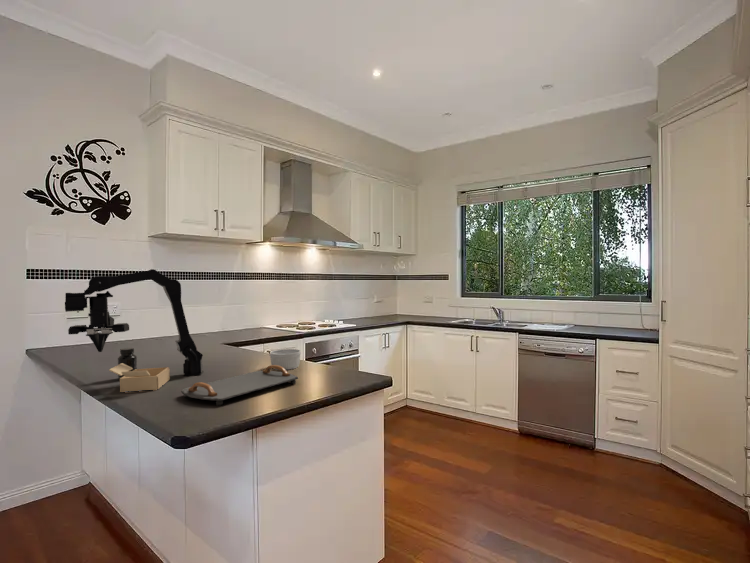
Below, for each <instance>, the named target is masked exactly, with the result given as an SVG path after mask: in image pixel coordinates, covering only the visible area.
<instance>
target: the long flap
mask: <svg viewBox="0 0 750 563" xmlns="http://www.w3.org/2000/svg"><path fill="white" fill-rule="evenodd" d="M132 369H133V368H132V367H130V366H128V365H125V364H123V363H121V364H119V365H118V364H117V365H115V366H113V367H111V368H110V369H108V371H109V372H111V373H114V374H116V375H117V376H118V375H120V376H122V375H123V374H122V373H121V372H126V371H130V370H132Z"/></svg>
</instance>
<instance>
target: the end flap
mask: <svg viewBox="0 0 750 563" xmlns="http://www.w3.org/2000/svg"><path fill="white" fill-rule="evenodd" d="M121 373H122V374H123V375H124V376H125V377H134V376H150V373H149V372H148V371H147V370H142V371H126V372H121Z"/></svg>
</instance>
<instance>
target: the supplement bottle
mask: <svg viewBox="0 0 750 563" xmlns="http://www.w3.org/2000/svg"><path fill="white" fill-rule="evenodd" d="M119 352H120V353H119V354H120V355H119V356H118V357H117V365H119V364H121V363H123V364H125V365H128V366H130V367H132V368H133V369H132V370H130V371H133V370H135V369H138V357H137V355H136V354H134V353H135V349H134V348H133V347H124V348H120V350H119ZM123 376H124V375H122V376H120V375H117V379H118V380H119V381H120V378H122V377H123Z"/></svg>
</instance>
